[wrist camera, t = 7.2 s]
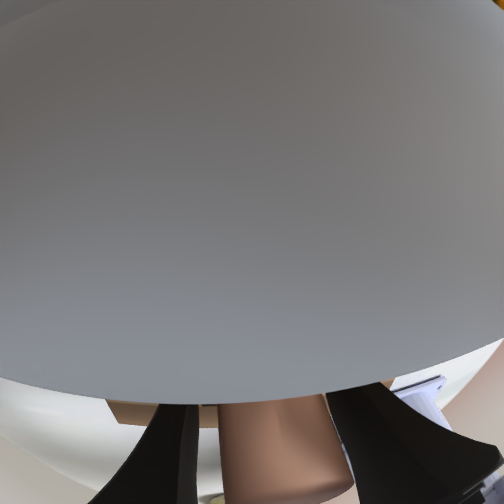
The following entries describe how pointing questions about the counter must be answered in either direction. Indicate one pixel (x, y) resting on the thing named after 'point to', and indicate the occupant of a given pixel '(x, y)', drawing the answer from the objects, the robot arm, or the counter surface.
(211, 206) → the socket station
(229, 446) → the peg
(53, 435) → the counter surface
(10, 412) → the counter surface
